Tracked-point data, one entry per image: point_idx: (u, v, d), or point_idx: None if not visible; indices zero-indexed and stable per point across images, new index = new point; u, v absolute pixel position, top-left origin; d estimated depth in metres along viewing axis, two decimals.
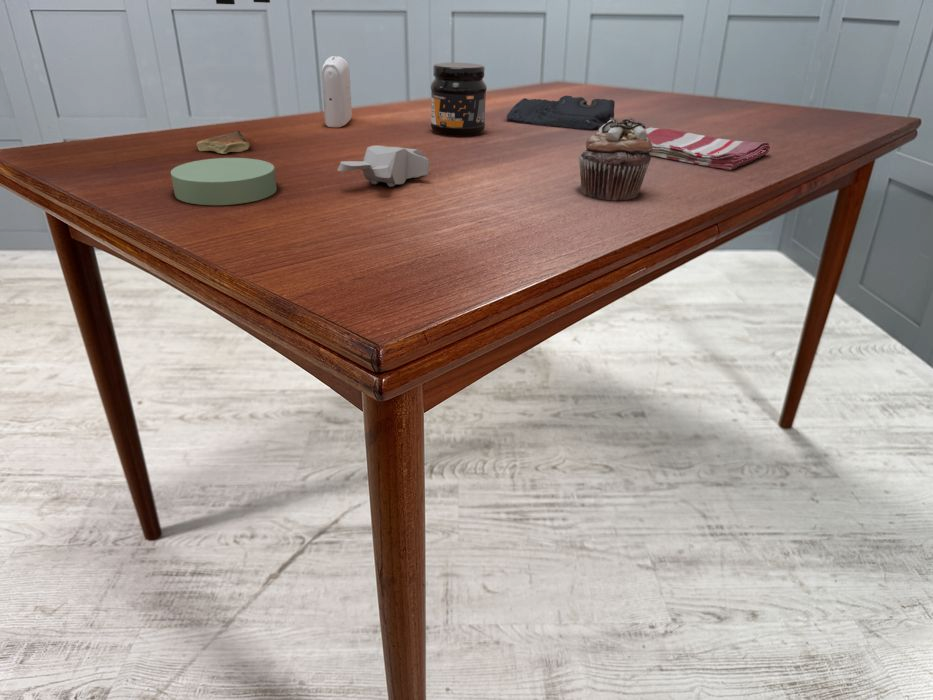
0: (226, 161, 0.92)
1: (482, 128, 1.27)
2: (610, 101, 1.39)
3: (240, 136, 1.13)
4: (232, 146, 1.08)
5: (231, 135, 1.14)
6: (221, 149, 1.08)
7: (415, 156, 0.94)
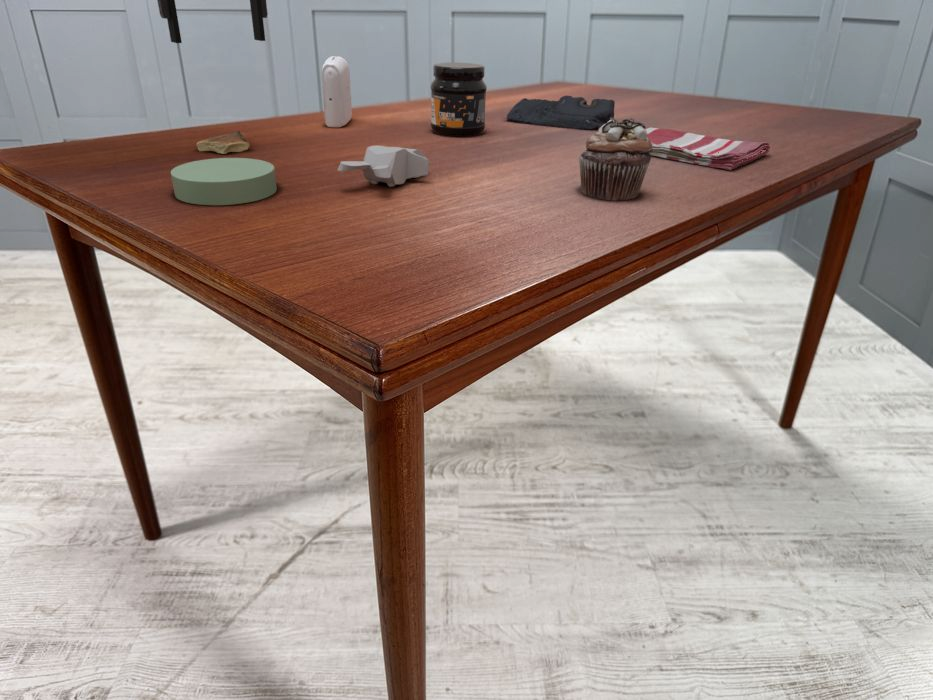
0: (226, 161, 0.92)
1: (482, 128, 1.27)
2: (610, 101, 1.39)
3: (240, 136, 1.13)
4: (232, 146, 1.08)
5: (231, 135, 1.14)
6: (221, 149, 1.08)
7: (415, 156, 0.94)
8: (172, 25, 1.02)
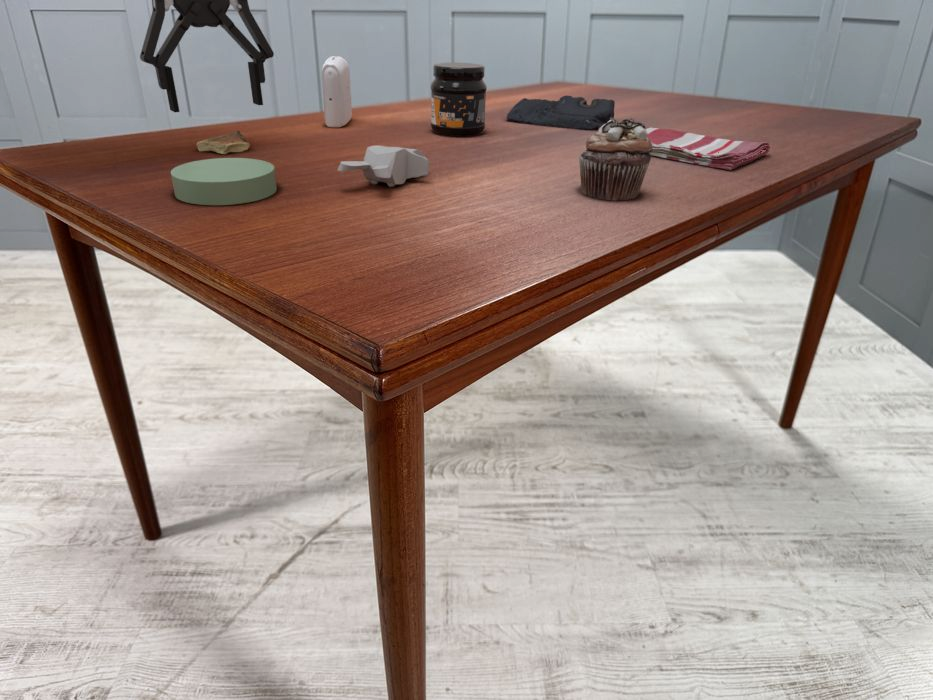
0: (226, 161, 0.92)
1: (482, 128, 1.27)
2: (610, 101, 1.39)
3: (240, 136, 1.13)
4: (232, 146, 1.08)
5: (231, 135, 1.14)
6: (221, 149, 1.08)
7: (415, 156, 0.94)
8: (170, 95, 1.04)
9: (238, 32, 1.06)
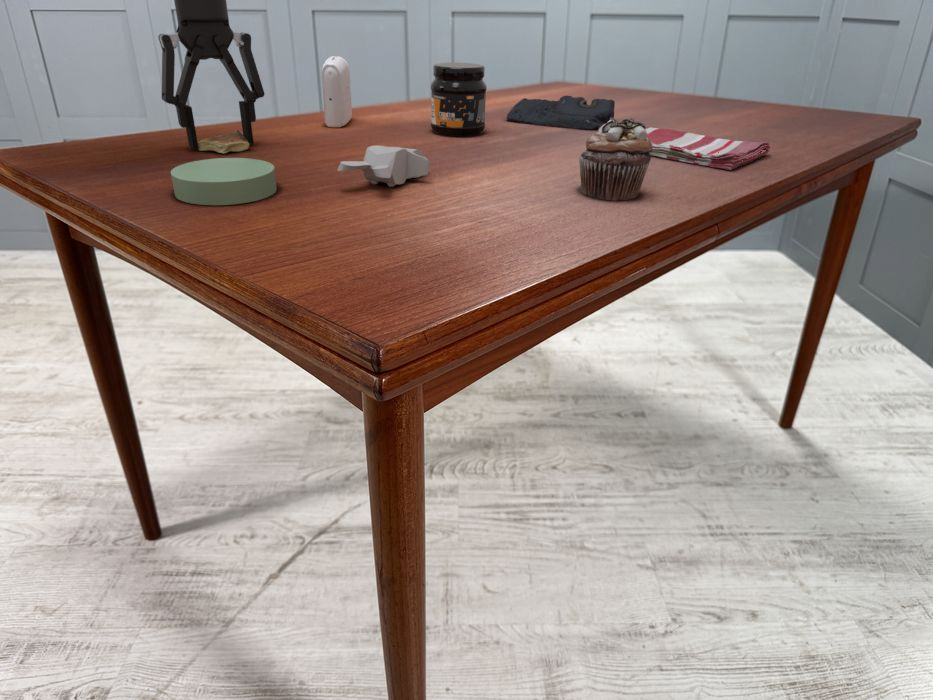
0: (226, 161, 0.92)
1: (482, 128, 1.27)
2: (610, 101, 1.39)
3: (240, 135, 1.13)
4: (232, 145, 1.08)
5: (231, 134, 1.14)
6: (221, 149, 1.08)
7: (415, 156, 0.94)
8: (190, 133, 1.08)
9: (235, 69, 1.08)
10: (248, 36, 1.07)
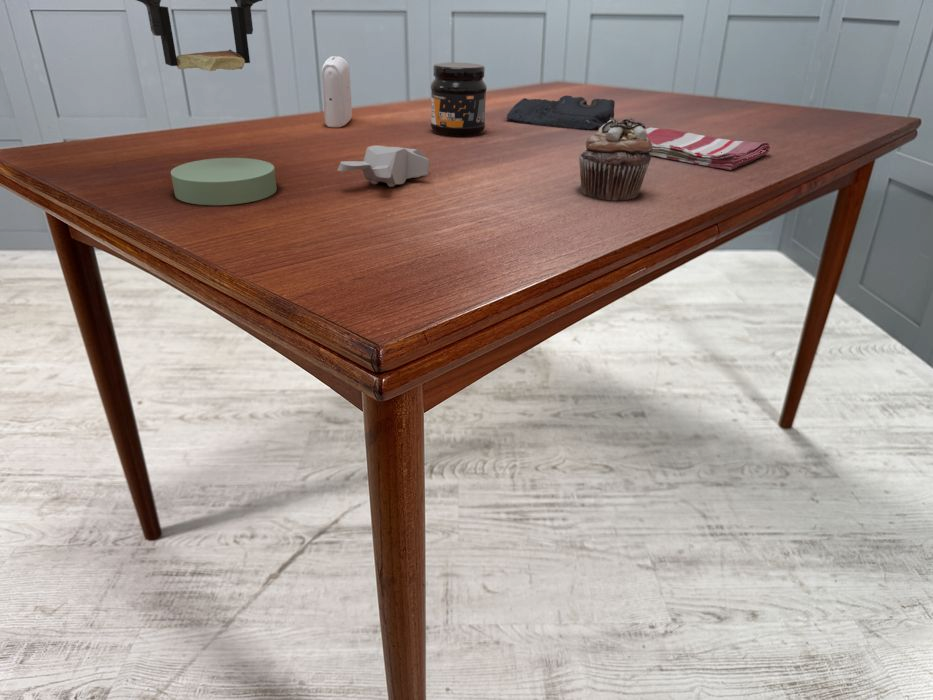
0: (226, 161, 0.92)
1: (482, 128, 1.27)
2: (610, 101, 1.39)
3: (232, 52, 0.87)
4: (222, 60, 0.82)
5: None
6: (207, 64, 0.82)
7: (415, 156, 0.94)
8: (166, 44, 0.82)
9: None
10: None
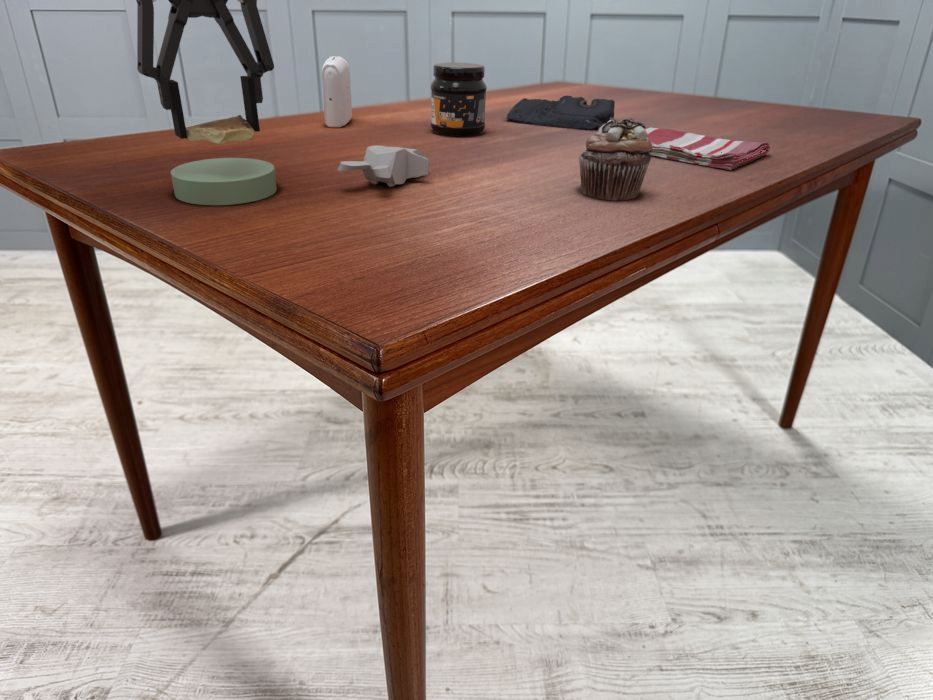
0: (226, 161, 0.92)
1: (482, 128, 1.27)
2: (610, 101, 1.39)
3: (242, 121, 0.87)
4: (232, 133, 0.82)
5: (230, 120, 0.87)
6: (217, 138, 0.81)
7: (415, 156, 0.94)
8: (176, 117, 0.81)
9: (236, 32, 0.81)
10: None
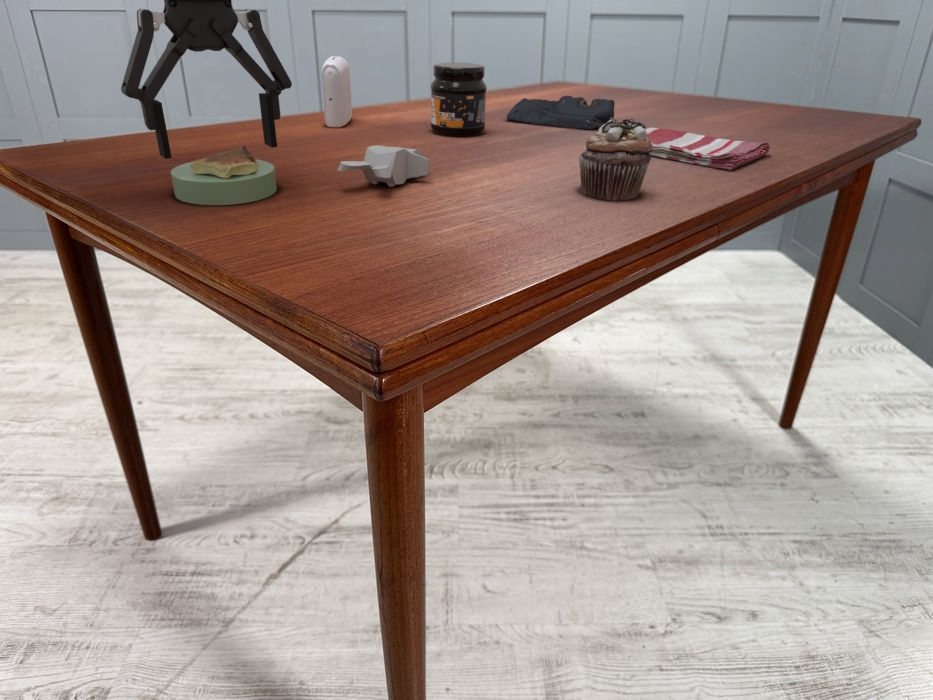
0: None
1: (482, 128, 1.27)
2: (610, 101, 1.39)
3: (246, 154, 0.89)
4: (236, 167, 0.84)
5: (235, 153, 0.89)
6: (222, 172, 0.83)
7: (415, 156, 0.94)
8: (160, 137, 0.81)
9: (248, 57, 0.83)
10: (255, 13, 0.81)
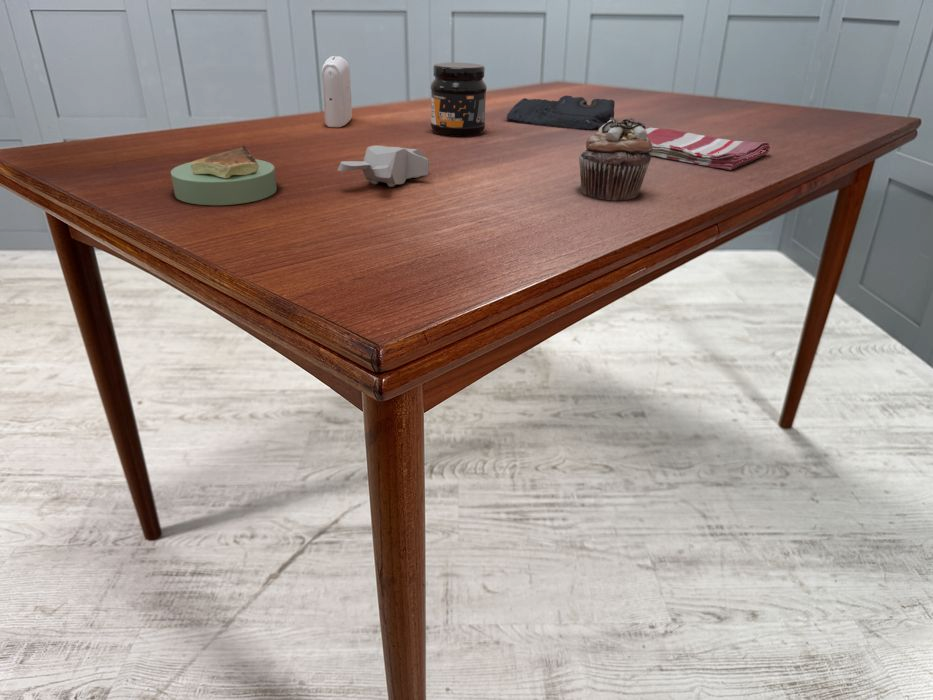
0: None
1: (482, 128, 1.27)
2: (610, 101, 1.39)
3: (246, 154, 0.89)
4: (236, 167, 0.84)
5: (235, 153, 0.89)
6: (222, 172, 0.83)
7: (415, 156, 0.94)
8: None
9: None
10: None
